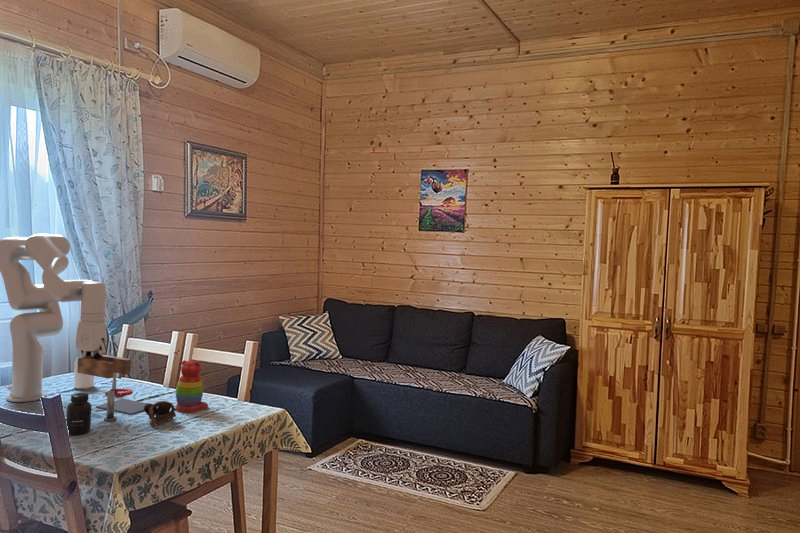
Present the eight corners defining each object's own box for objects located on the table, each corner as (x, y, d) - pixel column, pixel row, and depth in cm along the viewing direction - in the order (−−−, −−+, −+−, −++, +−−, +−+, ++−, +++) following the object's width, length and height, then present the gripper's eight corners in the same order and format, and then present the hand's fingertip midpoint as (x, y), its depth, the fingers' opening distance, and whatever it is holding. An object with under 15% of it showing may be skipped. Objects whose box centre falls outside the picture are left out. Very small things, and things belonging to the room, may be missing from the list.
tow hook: (117, 390, 236) (102, 395, 227) (119, 358, 236) (104, 361, 227) (136, 392, 234) (122, 397, 225) (138, 360, 235) (124, 363, 225)
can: (78, 390, 231) (79, 360, 231) (70, 387, 236) (71, 357, 235) (96, 387, 237) (97, 358, 236) (89, 384, 241) (89, 355, 241)
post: (101, 420, 197) (102, 391, 196) (110, 417, 200) (111, 389, 200) (109, 422, 195) (110, 393, 195) (119, 419, 199) (119, 391, 198)
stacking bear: (209, 406, 218) (211, 359, 218) (196, 414, 208) (198, 364, 208) (182, 404, 220) (184, 356, 219) (168, 411, 210) (169, 362, 209)
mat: (95, 407, 210) (95, 406, 210) (122, 399, 221) (122, 398, 221) (131, 414, 204) (131, 413, 204) (157, 406, 215) (157, 405, 215)
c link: (77, 372, 200) (77, 358, 200) (100, 368, 208) (100, 354, 208) (108, 378, 194) (108, 363, 194) (130, 373, 203) (130, 359, 202)
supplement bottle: (73, 437, 179) (74, 398, 179) (61, 433, 183) (62, 394, 182) (95, 432, 185) (96, 394, 184) (83, 427, 189) (84, 390, 188)
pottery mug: (182, 420, 202) (182, 403, 198) (165, 440, 194) (164, 422, 190) (152, 408, 204) (151, 391, 200) (133, 427, 196) (132, 410, 192)
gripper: (66, 316, 203) (65, 369, 203) (100, 320, 197) (98, 375, 197) (86, 314, 210) (84, 365, 210) (118, 318, 203) (116, 371, 204)
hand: (91, 369), depth 204 cm, fingers closed on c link
